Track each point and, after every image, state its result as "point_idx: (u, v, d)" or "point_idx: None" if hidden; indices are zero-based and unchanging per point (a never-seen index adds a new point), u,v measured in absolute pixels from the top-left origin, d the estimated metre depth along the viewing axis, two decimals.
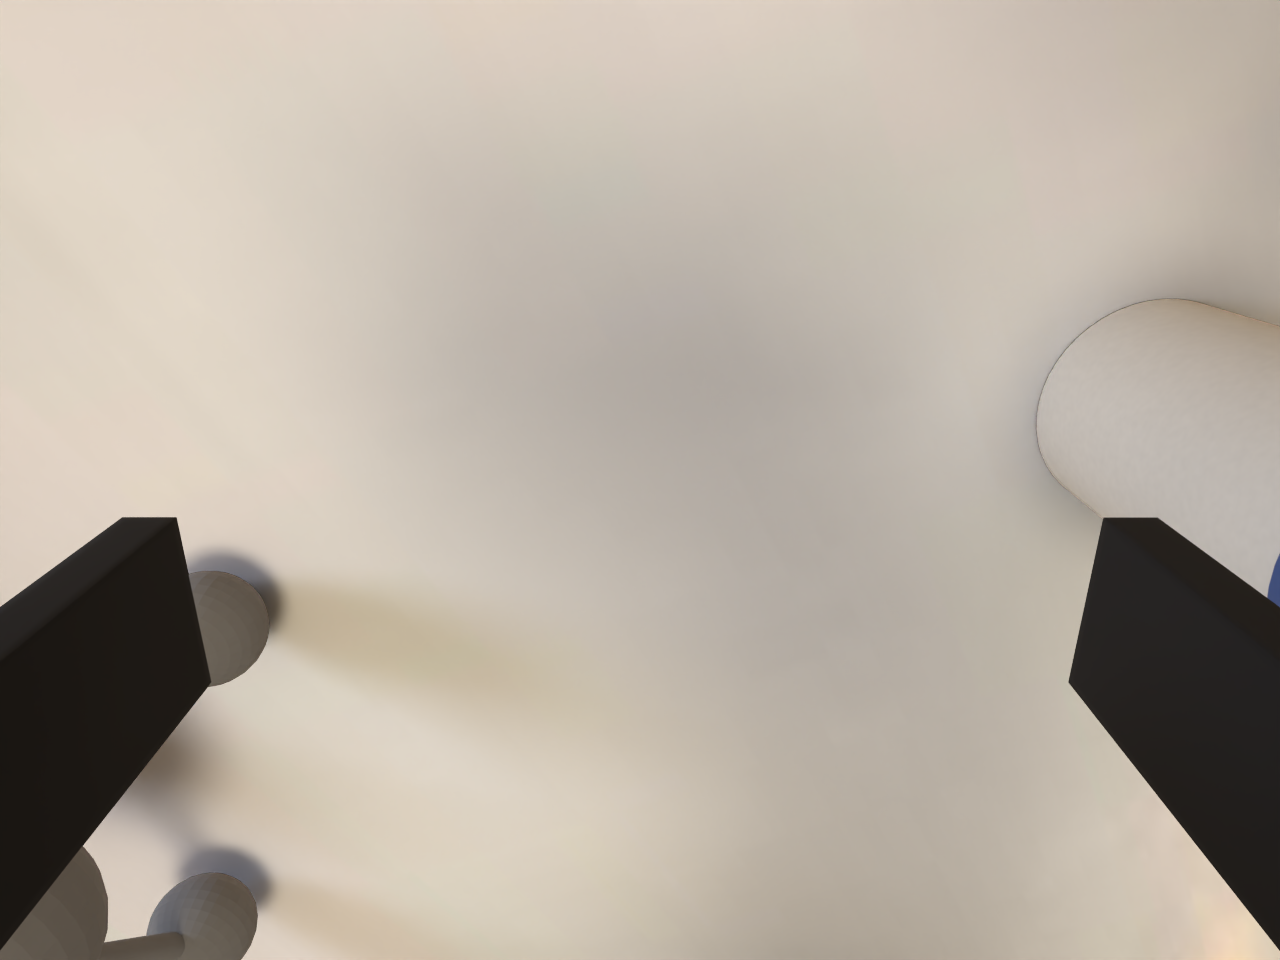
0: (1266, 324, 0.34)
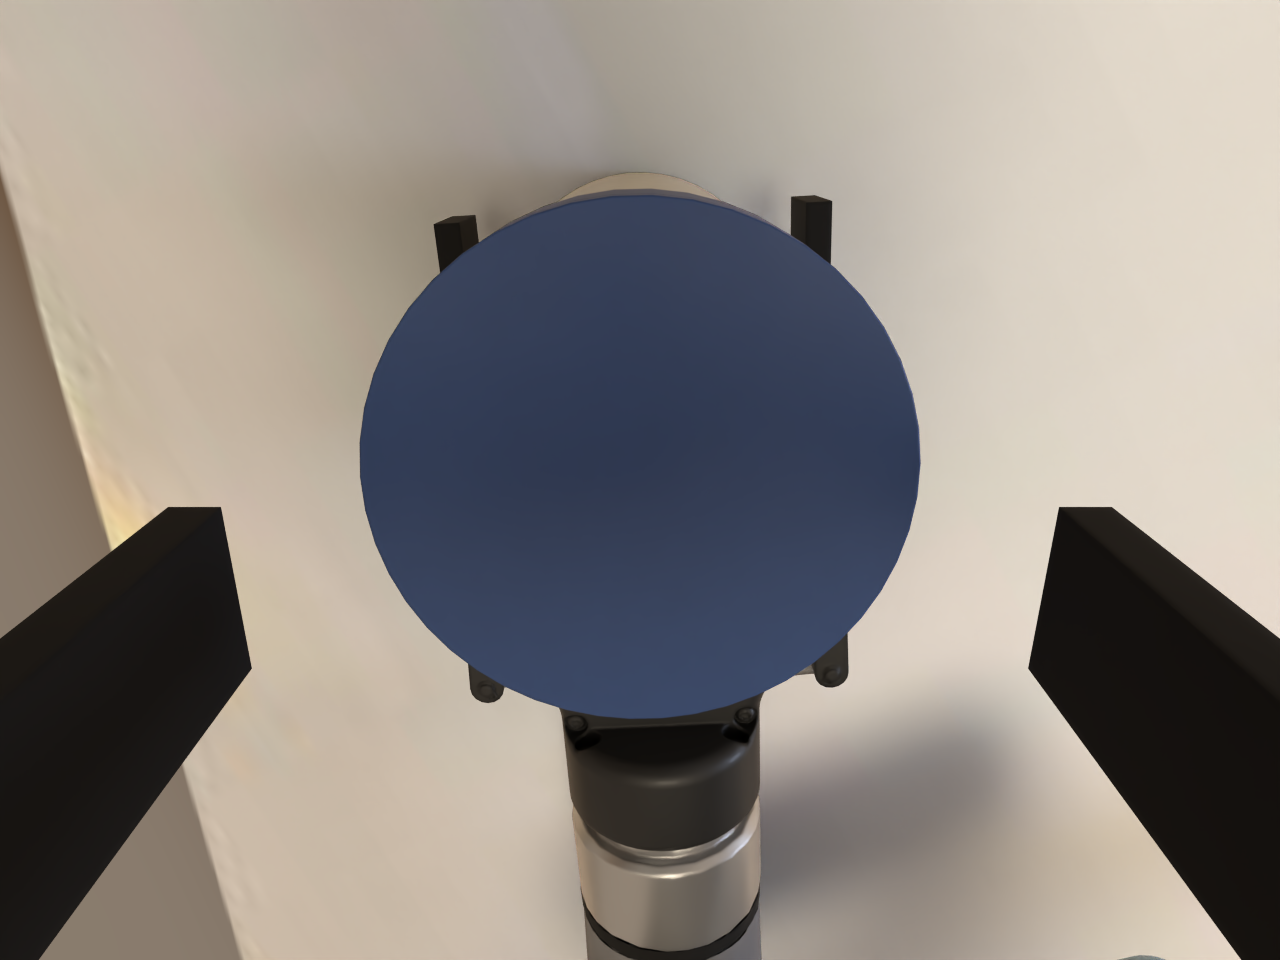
0: None
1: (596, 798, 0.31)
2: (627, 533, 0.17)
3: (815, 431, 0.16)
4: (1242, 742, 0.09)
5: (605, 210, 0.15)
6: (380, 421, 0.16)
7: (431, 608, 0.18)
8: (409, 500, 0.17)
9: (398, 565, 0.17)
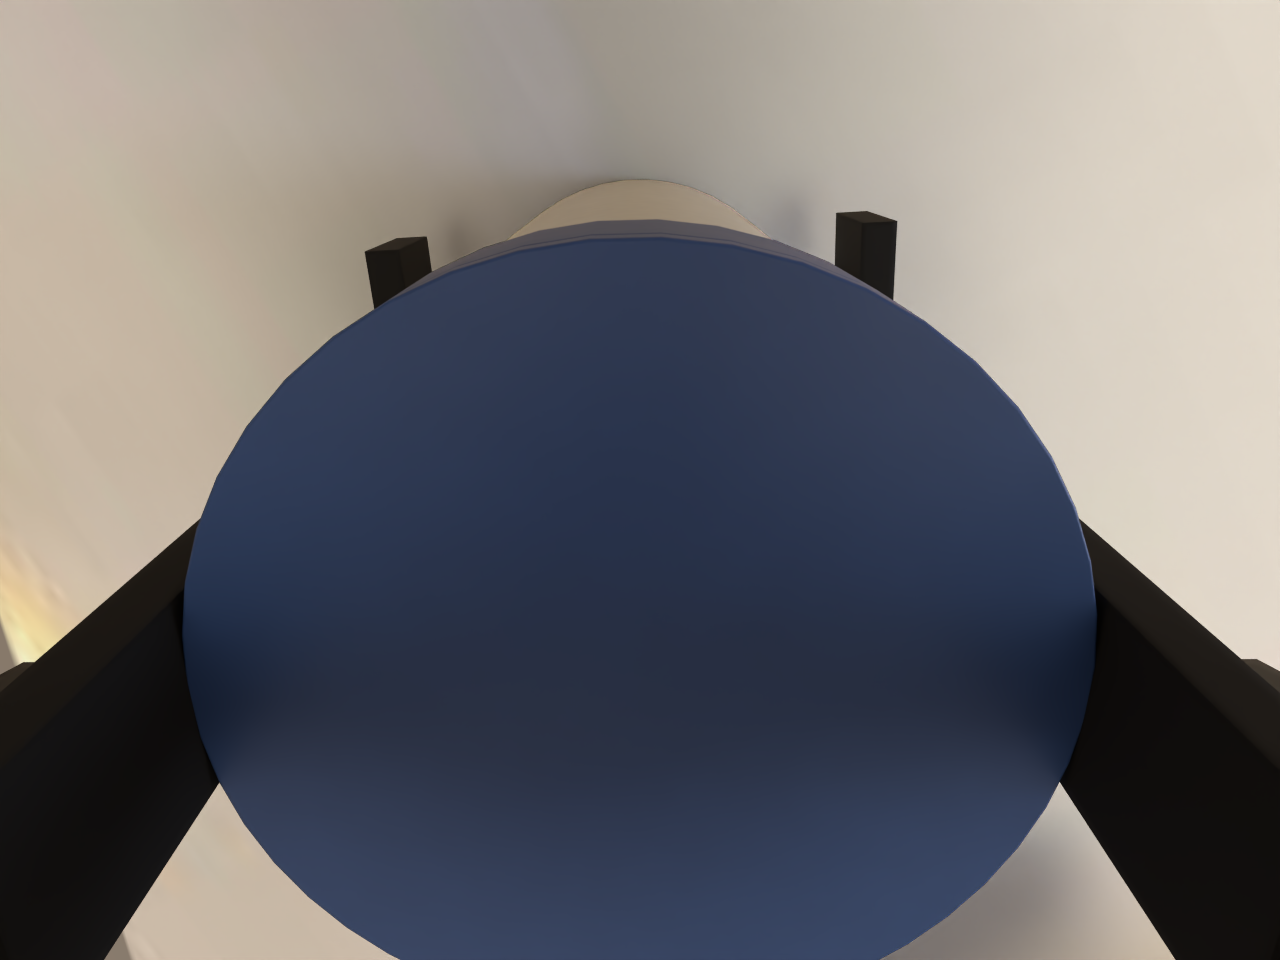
0: None
1: None
2: (619, 767, 0.11)
3: (927, 618, 0.10)
4: (1151, 714, 0.09)
5: (579, 263, 0.08)
6: (212, 603, 0.10)
7: (313, 872, 0.11)
8: (268, 720, 0.10)
9: (258, 812, 0.11)
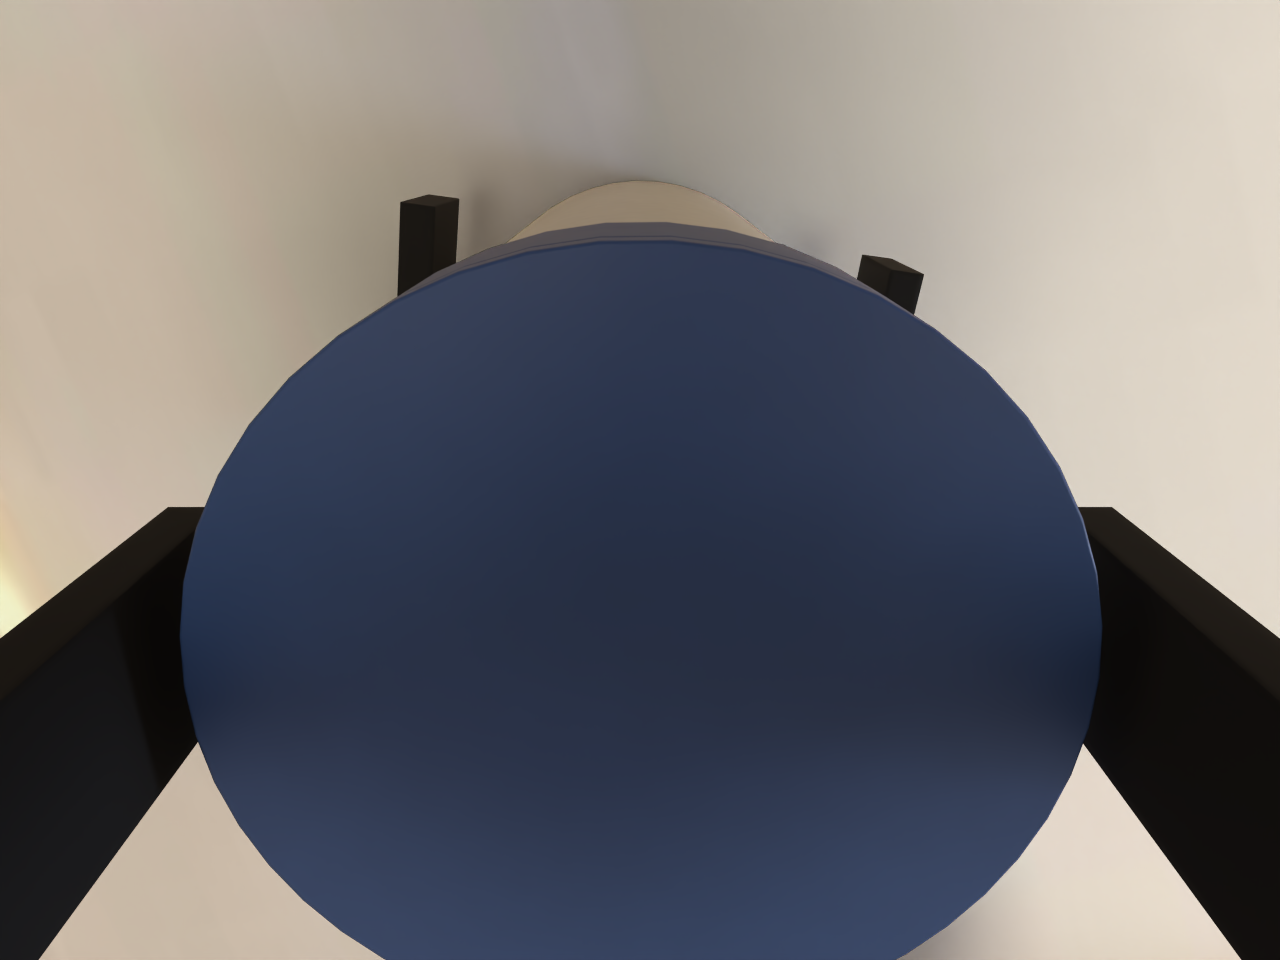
0: None
1: None
2: (706, 750, 0.10)
3: (666, 428, 0.09)
4: (1242, 742, 0.09)
5: (200, 597, 0.10)
6: (407, 950, 0.12)
7: None
8: None
9: None
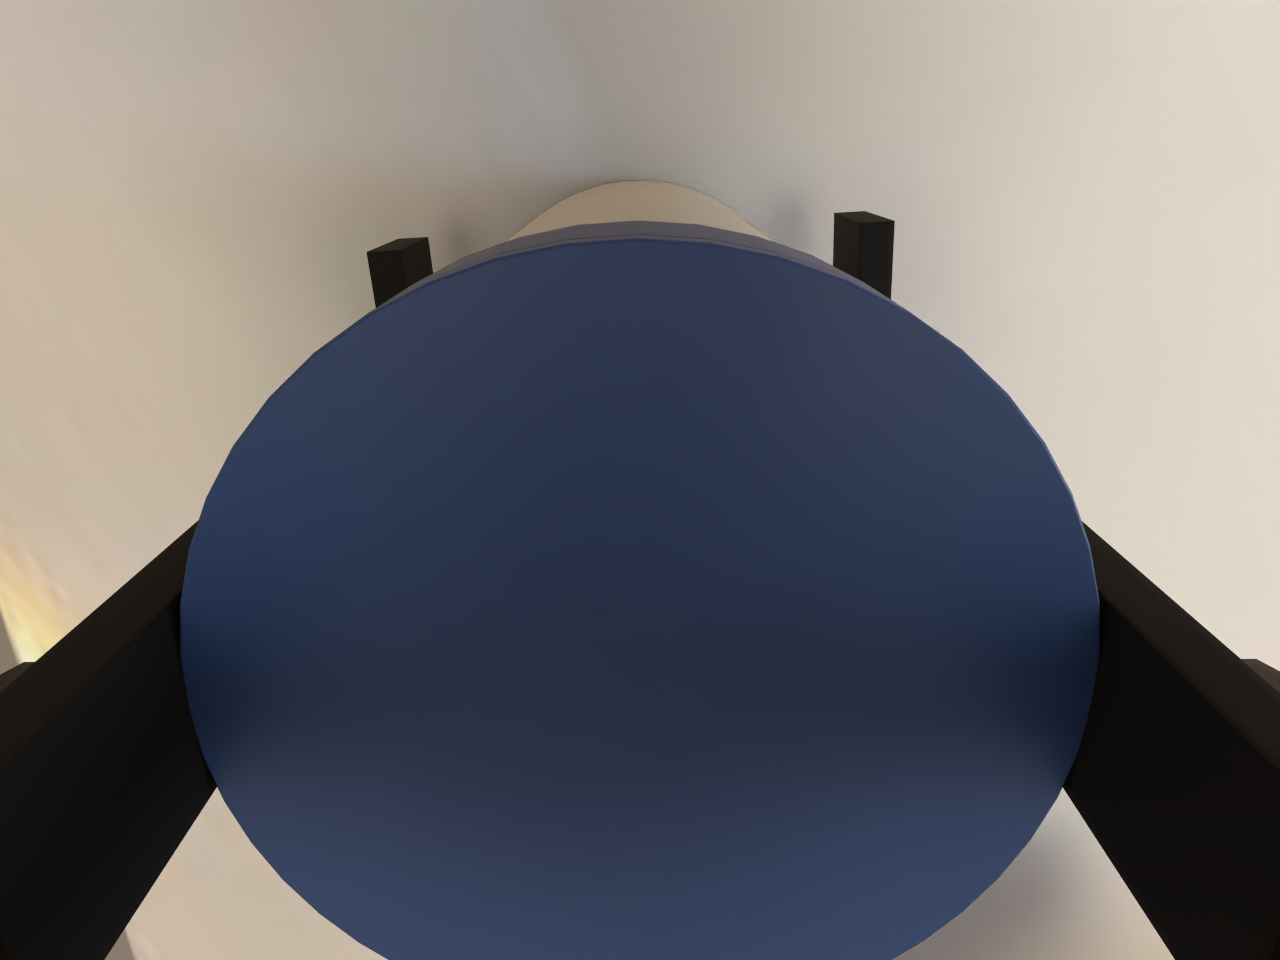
0: None
1: None
2: (713, 738, 0.10)
3: (601, 428, 0.09)
4: (1150, 714, 0.09)
5: (198, 669, 0.10)
6: None
7: None
8: None
9: None
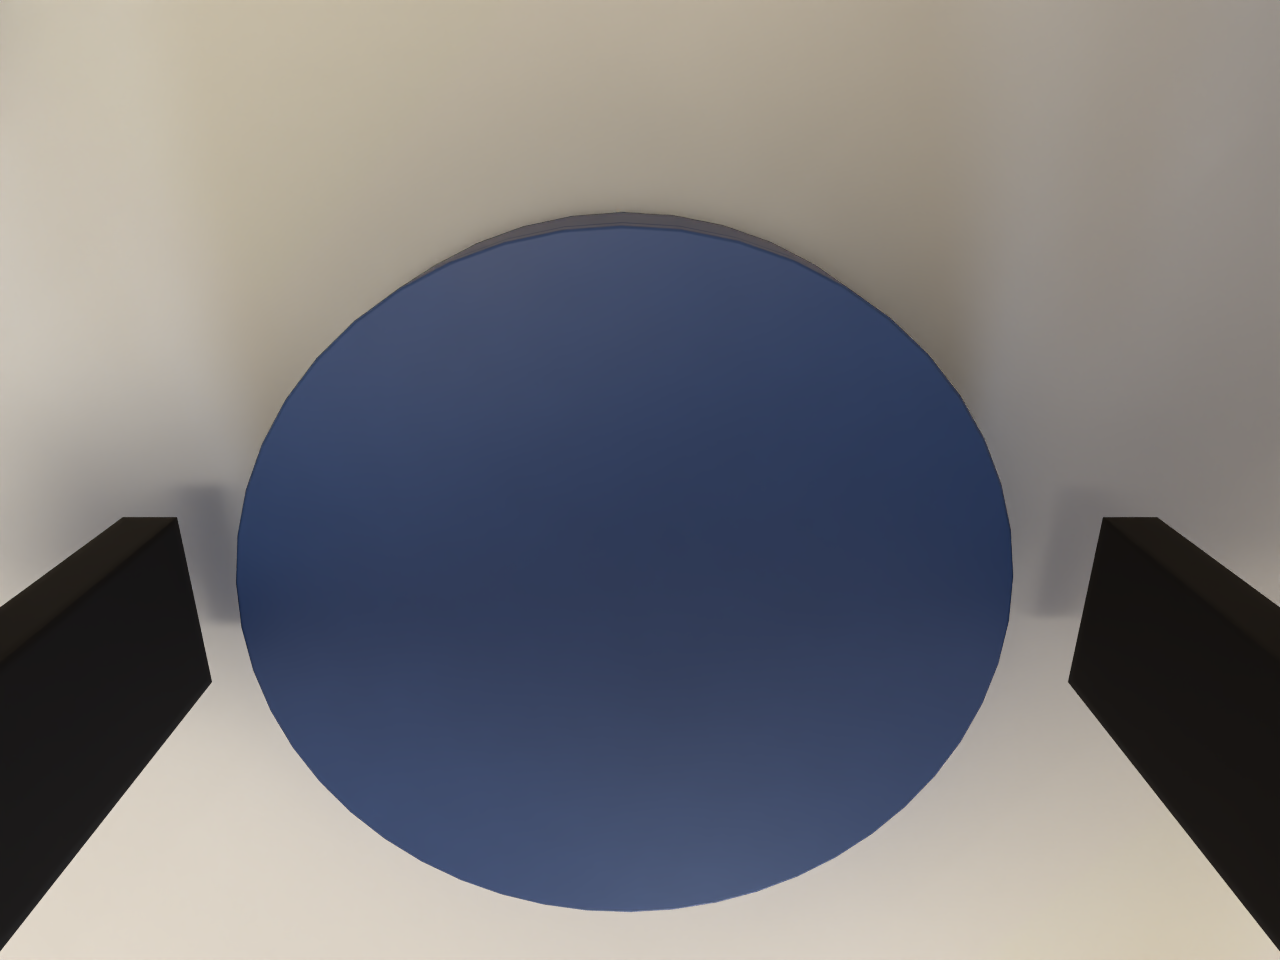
0: None
1: None
2: (689, 652, 0.12)
3: (592, 383, 0.11)
4: None
5: (251, 593, 0.12)
6: (479, 869, 0.14)
7: (732, 881, 0.14)
8: (582, 867, 0.14)
9: (664, 897, 0.14)
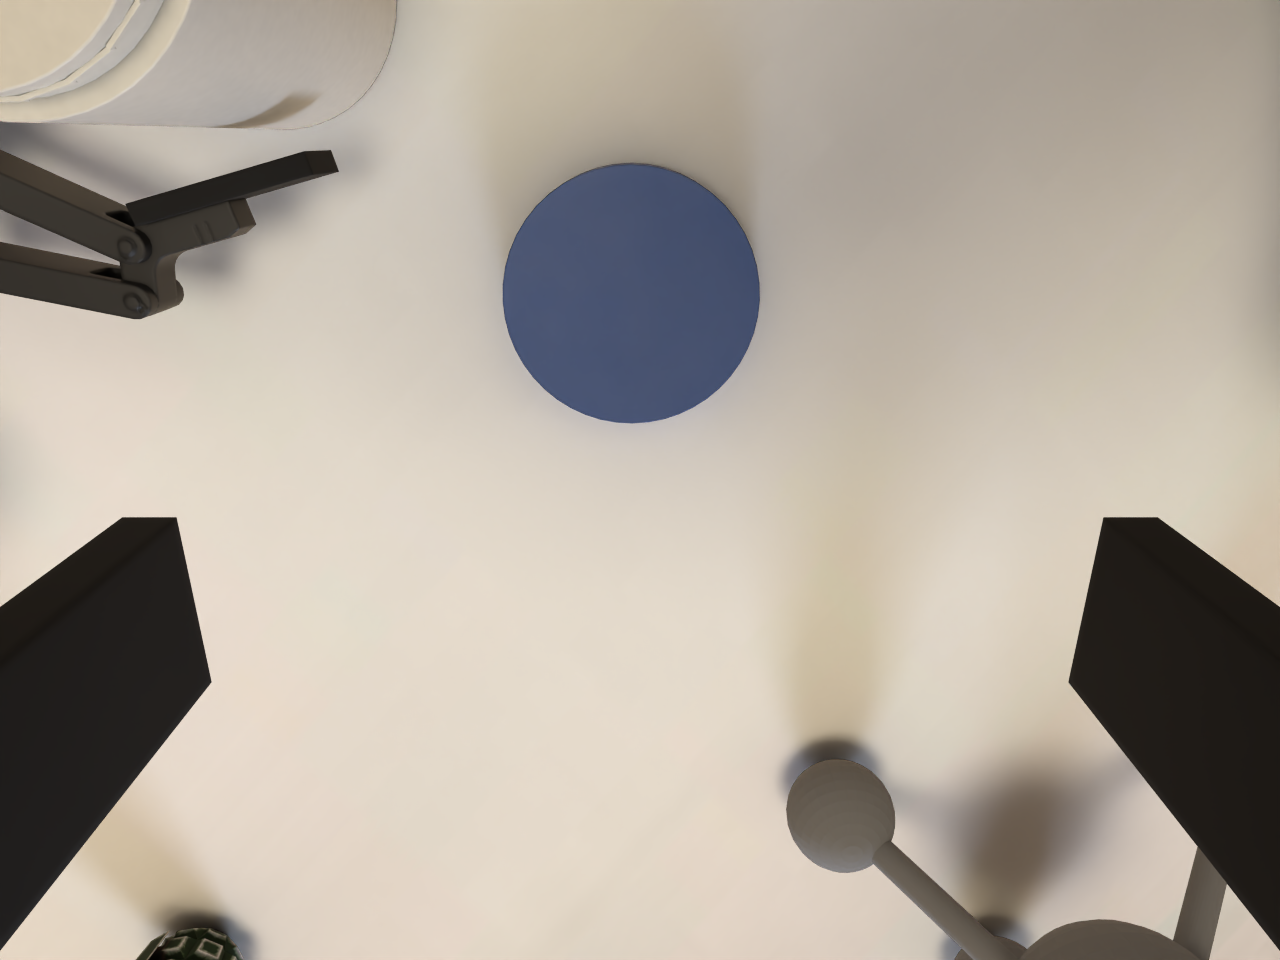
0: None
1: None
2: (652, 311, 0.36)
3: (621, 214, 0.35)
4: None
5: (508, 288, 0.36)
6: (577, 403, 0.38)
7: (669, 409, 0.38)
8: (615, 402, 0.38)
9: (645, 416, 0.38)
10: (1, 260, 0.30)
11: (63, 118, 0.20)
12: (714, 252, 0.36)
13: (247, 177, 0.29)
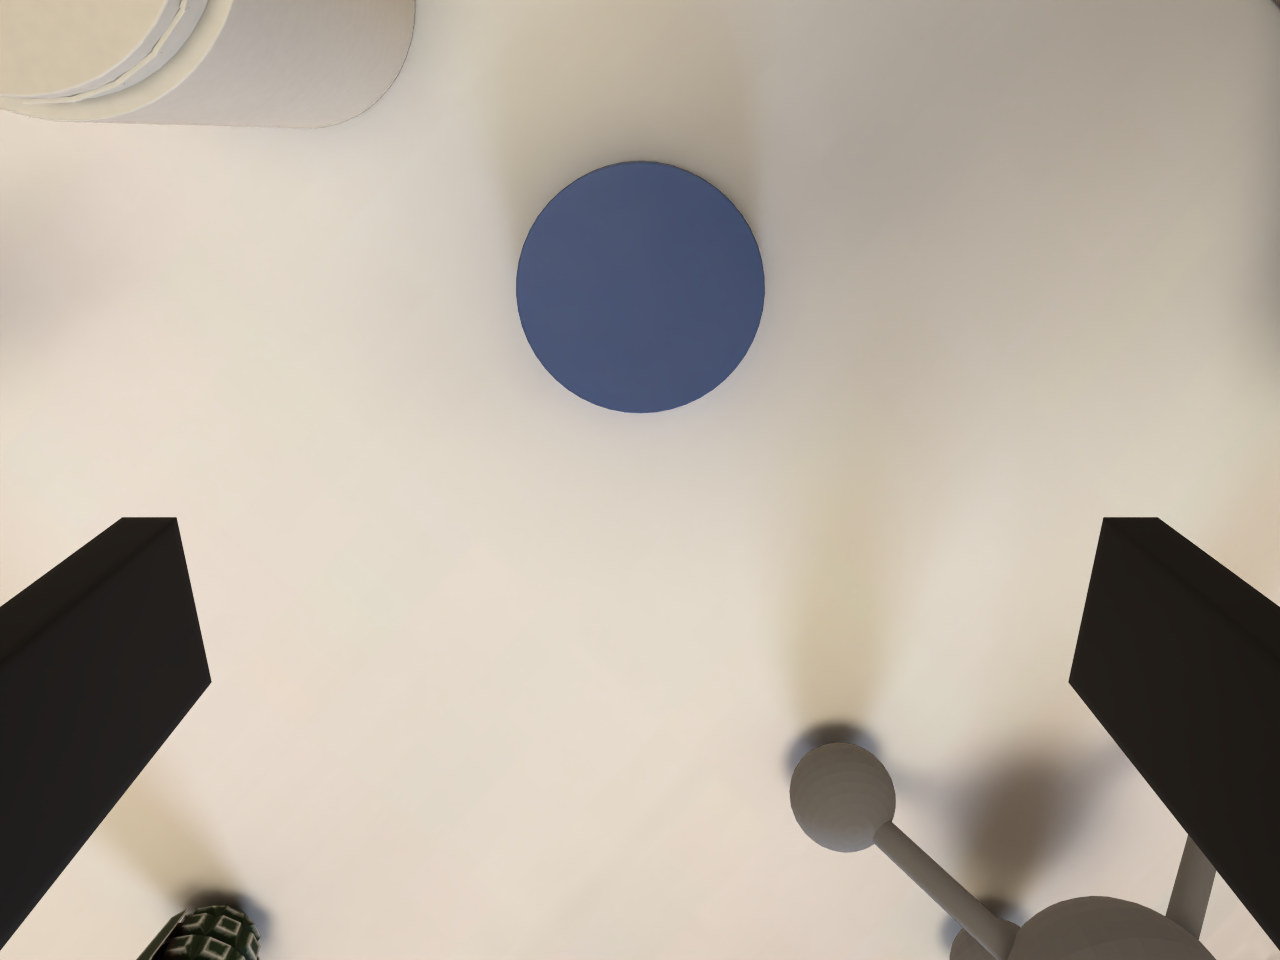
0: None
1: None
2: (660, 304, 0.38)
3: (630, 210, 0.36)
4: None
5: (521, 281, 0.37)
6: (588, 393, 0.39)
7: (677, 399, 0.39)
8: (624, 392, 0.39)
9: (653, 406, 0.39)
10: None
11: (109, 118, 0.22)
12: (721, 247, 0.37)
13: None
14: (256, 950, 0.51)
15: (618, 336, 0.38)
